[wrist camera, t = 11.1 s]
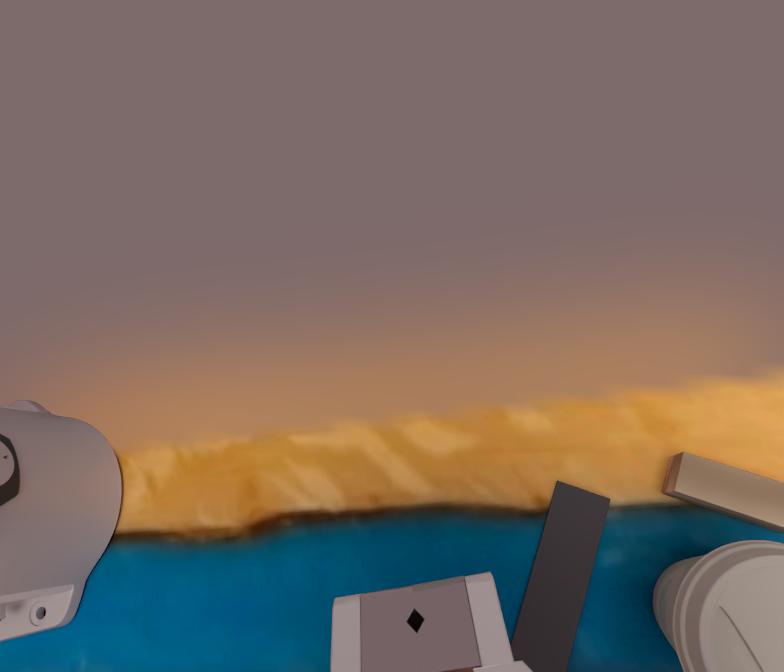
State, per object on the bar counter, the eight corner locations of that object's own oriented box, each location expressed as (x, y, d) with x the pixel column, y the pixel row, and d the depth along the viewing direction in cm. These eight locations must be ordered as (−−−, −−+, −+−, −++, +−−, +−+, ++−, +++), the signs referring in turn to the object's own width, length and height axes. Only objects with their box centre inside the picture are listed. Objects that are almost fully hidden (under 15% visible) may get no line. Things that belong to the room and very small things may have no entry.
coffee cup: (631, 524, 36) (685, 526, 25) (778, 548, 34) (907, 560, 23) (626, 670, 34) (684, 742, 23) (784, 704, 32) (931, 801, 21)
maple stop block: (780, 533, 35) (803, 533, 32) (662, 493, 37) (674, 490, 34) (787, 494, 35) (811, 491, 32) (670, 457, 37) (683, 451, 34)
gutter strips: (864, 871, 29) (869, 876, 29) (496, 696, 35) (496, 698, 35) (899, 600, 32) (904, 601, 32) (557, 481, 38) (557, 480, 38)
